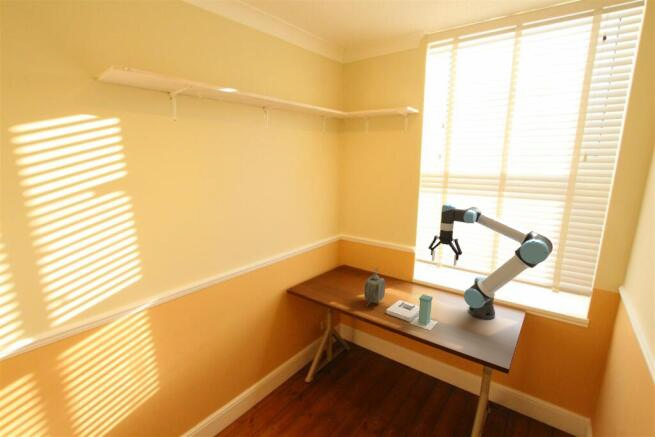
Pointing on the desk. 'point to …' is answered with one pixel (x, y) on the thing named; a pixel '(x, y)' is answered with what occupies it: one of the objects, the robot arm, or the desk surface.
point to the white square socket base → (403, 310)
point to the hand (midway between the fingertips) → (443, 262)
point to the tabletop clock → (374, 288)
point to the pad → (428, 327)
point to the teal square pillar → (425, 309)
